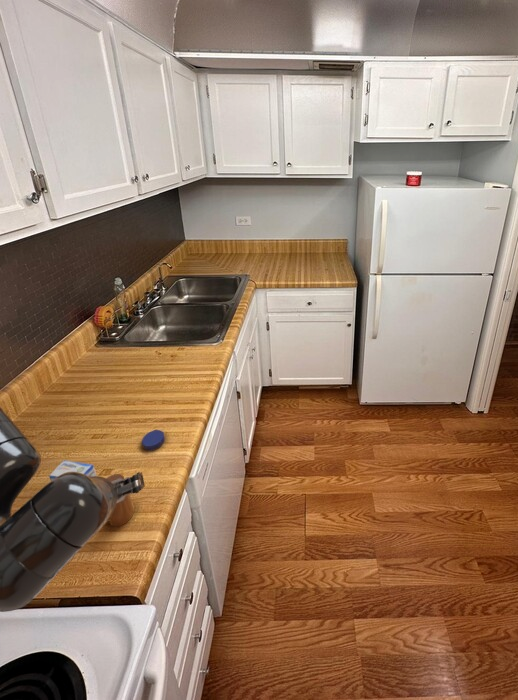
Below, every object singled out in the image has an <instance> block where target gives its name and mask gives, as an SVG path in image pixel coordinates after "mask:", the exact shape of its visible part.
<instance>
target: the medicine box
mask: <svg viewBox="0 0 518 700" xmlns="http://www.w3.org/2000/svg"><path fill="white" fill-rule="evenodd" d="M67 472H79V473H82V474H85V475H87V476H89V477H91V476H98V475H97V472H96V469H95V466H94V464H91V463H83V462H78V461H70V460H65V459H64V460H62V462H61V463H59V464H58V465H57V467H55V469H54V470H52V472H51V473H49V475H48V479H49V482H50V481H52V480H53V479H55V478H56V477H58V476H60V475H61V474H64V473H67Z"/></svg>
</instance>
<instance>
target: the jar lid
mask: <svg viewBox="0 0 518 700" xmlns="http://www.w3.org/2000/svg"><path fill="white" fill-rule="evenodd" d="M165 440H166V438H165V434H164V431H162V430H160V429H155V430H152V431H149V432H147V433H146V434H144V436H143V438H142V440H141V443H142V447H143V449H144V450H146V451H147V452H149V451H150V452H152V451H155V450H157V449H159V448H161V447H162V446H163V444H165Z"/></svg>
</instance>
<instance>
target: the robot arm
mask: <svg viewBox="0 0 518 700" xmlns="http://www.w3.org/2000/svg"><path fill="white" fill-rule="evenodd" d="M41 463H42V455H41V454H40V452H39V450H38V448H36V446H35V444H33V443H32V441H31V440H30V439H29V438H28V437H27V436H26V434H24V432H23V431H22V430H21V429H20V428H19V427H18V425H17V424H15V422H14V421H13V420H12V419H11V417H9V416H8V414H7V413H6V412H5V410H4V409H3V408H2V407H1V406H0V613H7V612H13V611H16V610H19V609H21V608H23V607H25V606H26V605H27V604H29V603H30V602H31V601H32V600H33V599H35V598H36V597H37V596H38V595H39V594H40V593H41V592H42V591H43V590H44V589H45V588H46V587H47V586H48V584H49V583H51V581H52V580H53V579H55V577H56V576H57V575H58V574H59V573H60V572H61V571H62V570H63V569H64V568H65V566H67V564H68V563H69V562H71V560H72V559H73V558H74V557H75V556H76V554H77V553H78V552H79V551H80V550H82V548H83V547H84V546H85V545H86V544H88V542H89V541H90V540H91V539H92V538H93V537H94V536H95V535H97V534H98V533H99V532H100V530H101V529H102V528H103V527H104V526H105V525H106V524H107V522H109V518H110V517H111V515H112V513H113V511H114V509H115V506H116V504H117V503H119V502H121V501H123V500H124V499H125V496H126V495H127V494H128V495H129V494H130V495H133V494H138V493H139V492H140V491H142V490H143V489H144V488H145V487H146V485H145V480H144V475H143V472H136V473H135V474H132V476H126V477H125V478H124V480H122V479H121V478H119V479H117V480H114V481H112V482H111V481H109V480H108V479H106V478H107V477H104V476H101V475H97V476H91V477H89V476H87V475H85V474H82V473H79V472H67V473H64V474H61V475H60V476H58V477H56V478H55V479H53V480H52V481H50V480H49V482H48V483H47V484H46V485H44V486H43V487H42V488H41V489H39V491H37V492H36V493H35V494H34V495H33V496H32V497H31V498H30V499H29V500H27V501H26V502H25V503H24V504H23V505H22V506H20V507H19V509H17V510H16V511H15V512H14V513H13V514H12V509H13V505H14V503H15V501H16V499H17V498H18V496H19V495H20V494H21V493H22V491H23V490H24V489H25V488H26V486H27V485H28V484H29V483H30V481H31V480H32V479H33V477H34V476H35V474H36V473H37V472H38V470H39V468H40V466H41Z"/></svg>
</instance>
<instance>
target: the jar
mask: <svg viewBox="0 0 518 700" xmlns="http://www.w3.org/2000/svg"><path fill="white" fill-rule="evenodd" d="M105 478H106V479H108V480H109V481H111V482H112V481H114V480H117V479H119V478H121V479H122V480H124V479H125V476H124V475H123V474H120V473H115V474H112V475H109V476H108V477H105ZM134 513H135V506H134V504H133V499H132V496H131V494H129V495H128V494H127V495H126V496H125V499H124V500H123V501H121V502H119V503H117V504H116V506H115V509H114V511H113V513H112V515H111V517H110V518H109V520H108V522H109V524H110V525H111V526H113V527H120V526H123V525H126V523H127V522H129V521H130V520H131V519H132V517H133V516H134Z"/></svg>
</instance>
